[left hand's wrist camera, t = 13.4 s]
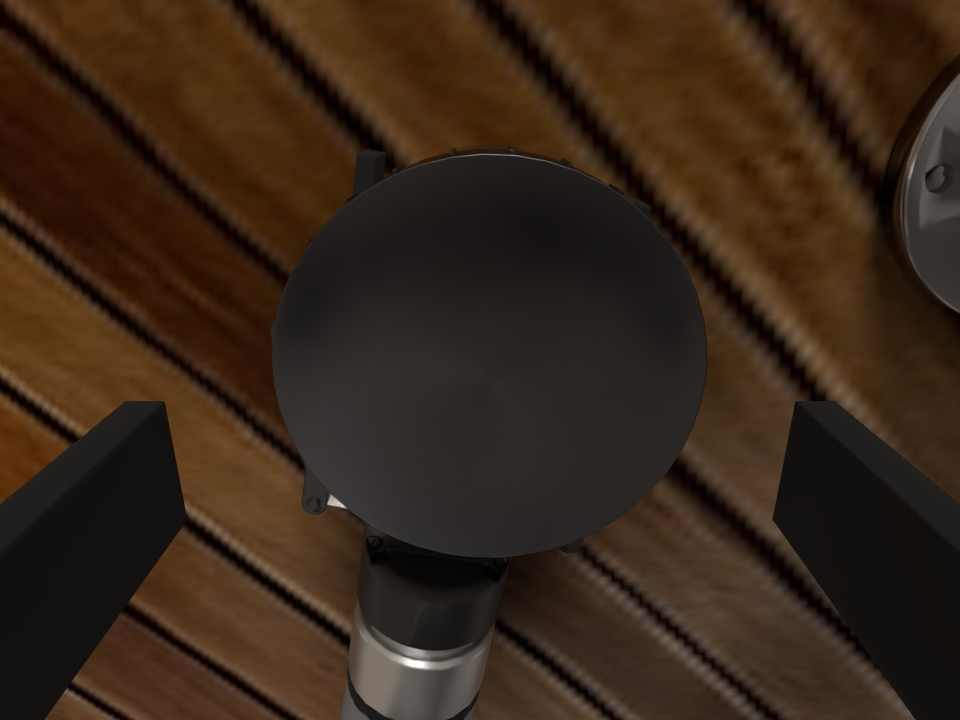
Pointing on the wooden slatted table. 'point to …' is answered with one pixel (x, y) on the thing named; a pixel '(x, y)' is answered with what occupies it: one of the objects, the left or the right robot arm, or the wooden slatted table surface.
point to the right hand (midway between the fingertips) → (505, 177)
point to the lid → (489, 354)
